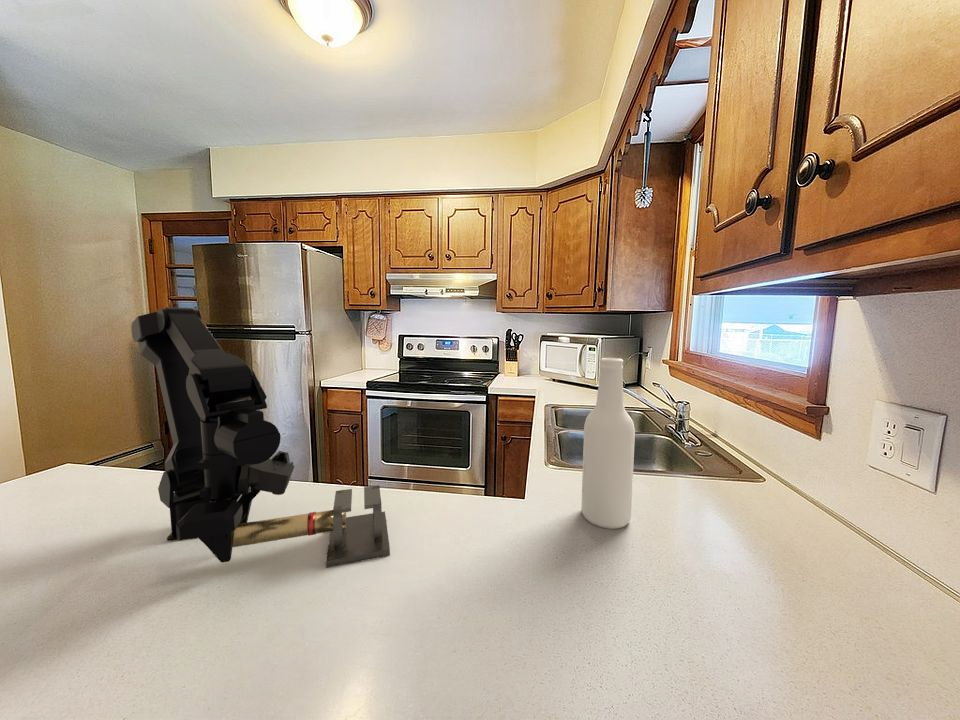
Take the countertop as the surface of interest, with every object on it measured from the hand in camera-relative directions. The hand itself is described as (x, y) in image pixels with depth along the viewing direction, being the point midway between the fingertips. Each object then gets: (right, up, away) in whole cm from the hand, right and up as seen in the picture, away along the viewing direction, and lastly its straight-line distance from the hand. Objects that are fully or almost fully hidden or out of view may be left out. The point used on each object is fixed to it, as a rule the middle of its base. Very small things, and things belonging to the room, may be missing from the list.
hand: (233, 548), depth 54 cm
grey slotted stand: (+17, -2, +6) cm, 18 cm away
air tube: (+7, 0, +2) cm, 7 cm away
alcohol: (+61, -1, +13) cm, 62 cm away
